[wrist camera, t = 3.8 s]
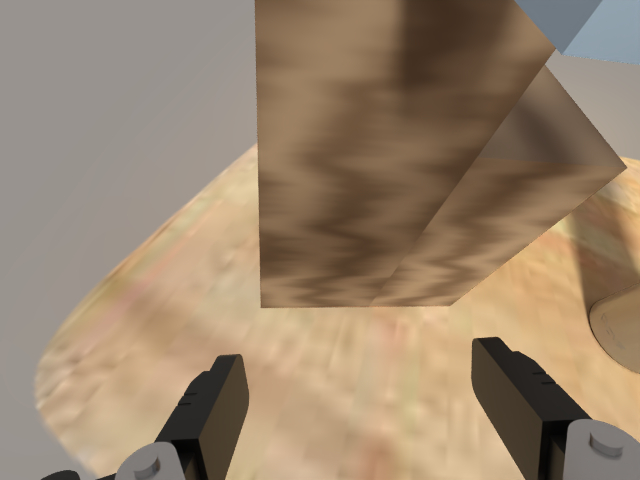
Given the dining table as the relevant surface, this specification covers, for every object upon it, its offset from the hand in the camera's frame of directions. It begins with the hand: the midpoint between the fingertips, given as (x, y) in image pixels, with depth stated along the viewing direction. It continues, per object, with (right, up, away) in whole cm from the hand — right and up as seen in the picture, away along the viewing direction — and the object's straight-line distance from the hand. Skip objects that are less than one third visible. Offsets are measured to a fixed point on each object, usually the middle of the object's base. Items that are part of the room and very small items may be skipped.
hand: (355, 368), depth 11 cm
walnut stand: (+3, +4, +30) cm, 30 cm away
